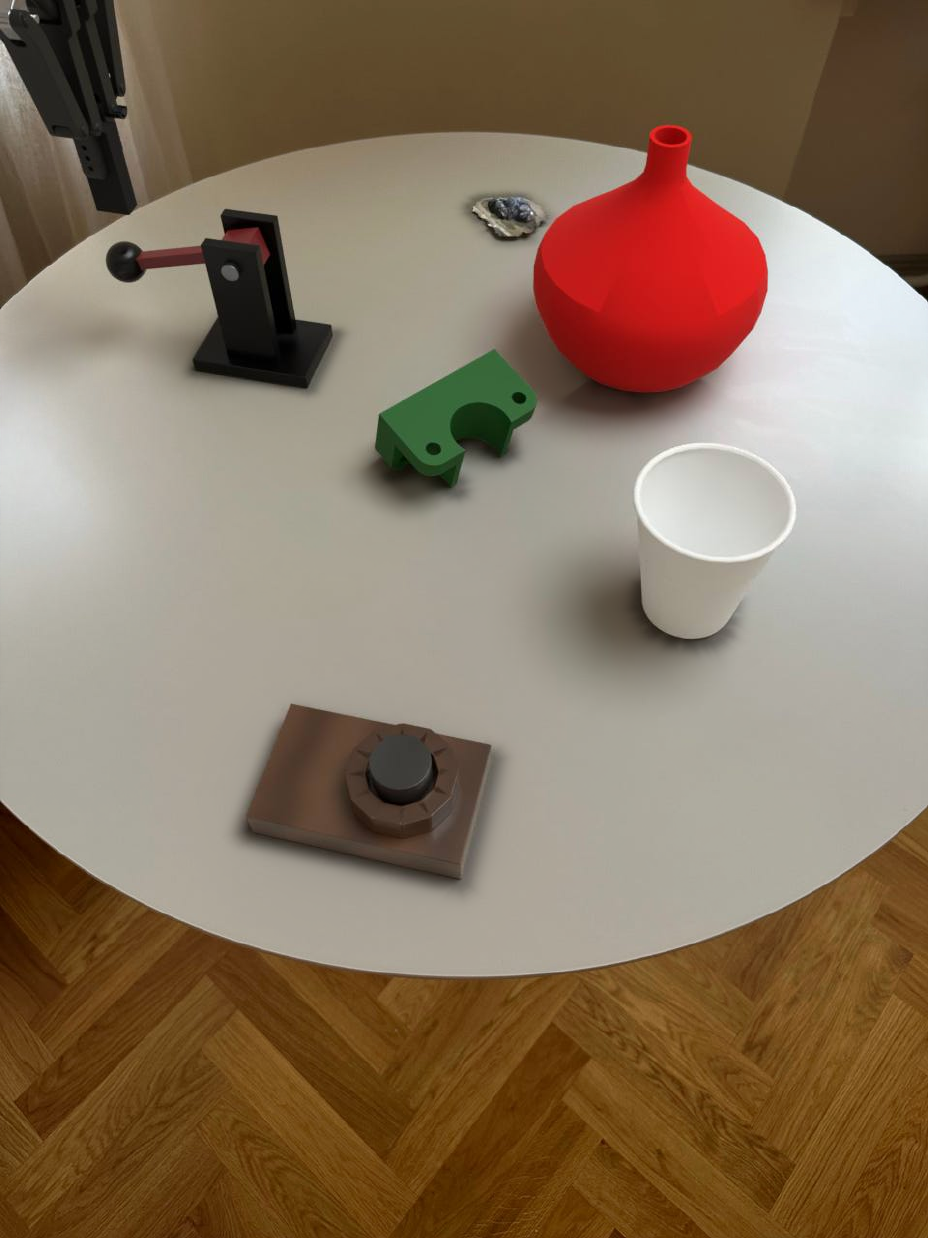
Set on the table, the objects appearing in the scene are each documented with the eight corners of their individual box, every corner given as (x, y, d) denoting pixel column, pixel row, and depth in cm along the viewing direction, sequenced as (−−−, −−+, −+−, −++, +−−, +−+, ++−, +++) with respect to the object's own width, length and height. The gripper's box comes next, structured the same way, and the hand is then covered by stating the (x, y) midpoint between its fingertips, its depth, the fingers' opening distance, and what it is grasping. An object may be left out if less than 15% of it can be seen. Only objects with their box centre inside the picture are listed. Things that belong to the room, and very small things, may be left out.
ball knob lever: (111, 292, 85) (91, 257, 83) (128, 268, 87) (109, 234, 85) (260, 279, 81) (243, 242, 78) (274, 254, 82) (258, 218, 80)
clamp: (435, 522, 83) (410, 487, 74) (390, 469, 84) (360, 429, 76) (550, 424, 83) (538, 378, 74) (502, 373, 84) (485, 322, 75)
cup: (785, 603, 72) (828, 495, 64) (701, 691, 68) (735, 589, 59) (671, 530, 76) (696, 419, 68) (585, 608, 72) (600, 501, 63)
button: (363, 796, 60) (361, 782, 59) (381, 743, 62) (379, 728, 61) (423, 809, 60) (422, 795, 58) (439, 755, 62) (438, 740, 60)
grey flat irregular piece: (518, 249, 97) (519, 231, 96) (452, 219, 100) (452, 201, 99) (561, 216, 100) (562, 198, 99) (495, 188, 103) (495, 170, 102)
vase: (758, 431, 82) (822, 213, 67) (527, 425, 83) (538, 208, 68) (735, 288, 93) (785, 72, 78) (531, 284, 94) (541, 69, 79)
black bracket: (194, 370, 88) (160, 247, 78) (225, 319, 92) (195, 196, 82) (307, 388, 86) (286, 265, 77) (333, 335, 90) (316, 212, 81)
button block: (252, 832, 63) (240, 802, 59) (295, 720, 67) (286, 687, 64) (461, 879, 61) (460, 852, 58) (491, 761, 65) (492, 729, 62)
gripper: (14, -114, 57) (126, 263, 76) (116, -191, 64) (195, 169, 83) (-109, -126, 58) (32, 249, 77) (6, -200, 65) (108, 157, 84)
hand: (117, 207), depth 80 cm, fingers closed
